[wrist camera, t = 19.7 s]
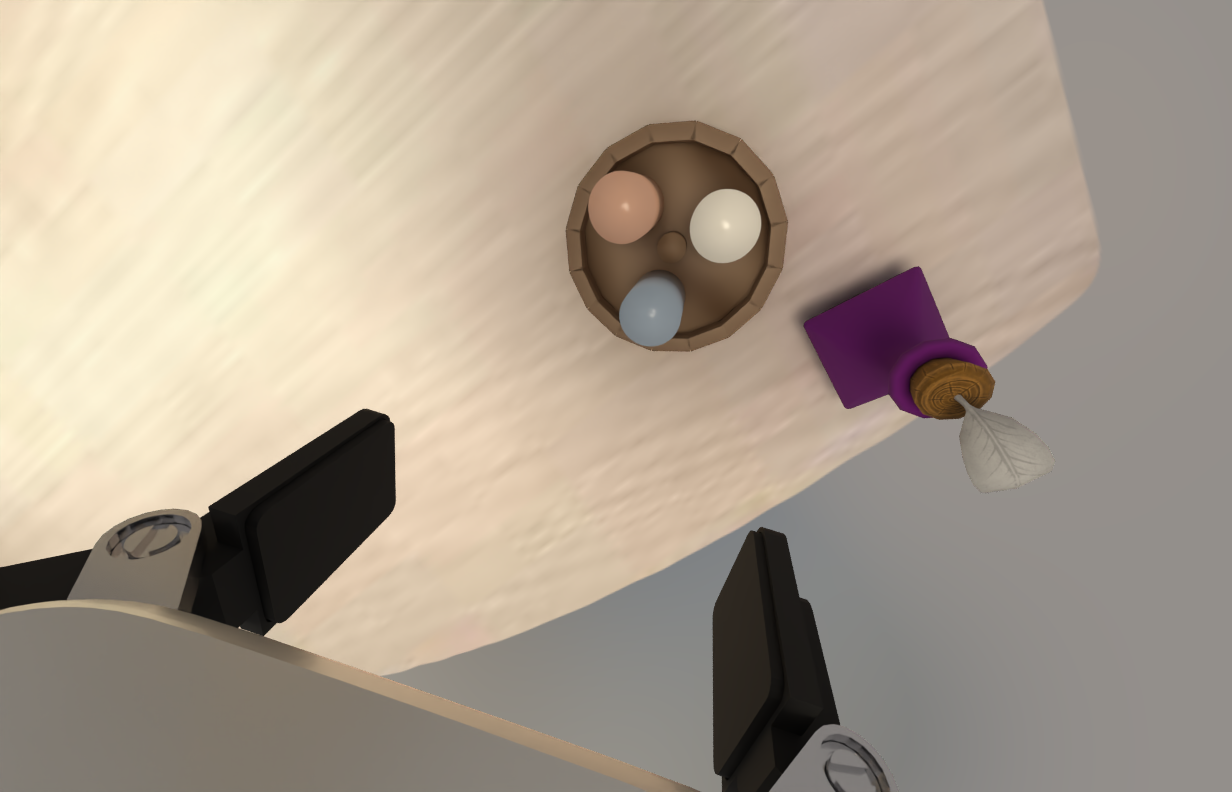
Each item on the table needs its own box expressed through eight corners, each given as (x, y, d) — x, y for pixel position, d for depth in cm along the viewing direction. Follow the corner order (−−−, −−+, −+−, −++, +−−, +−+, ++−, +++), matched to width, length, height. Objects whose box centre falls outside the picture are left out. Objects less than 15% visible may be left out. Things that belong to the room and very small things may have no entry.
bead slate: (639, 264, 33) (626, 278, 28) (691, 277, 33) (688, 294, 28) (628, 314, 35) (613, 337, 30) (677, 327, 35) (671, 353, 29)
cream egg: (724, 175, 30) (727, 172, 24) (764, 219, 30) (776, 225, 25) (681, 222, 32) (675, 228, 26) (720, 262, 32) (722, 277, 27)
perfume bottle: (794, 311, 33) (871, 425, 17) (899, 257, 31) (1108, 333, 15) (834, 391, 35) (937, 560, 19) (937, 347, 33) (1158, 502, 17)
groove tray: (675, 71, 29) (672, 61, 26) (827, 240, 31) (835, 244, 29) (538, 247, 35) (527, 251, 33) (672, 376, 37) (670, 388, 35)
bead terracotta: (676, 203, 31) (669, 206, 26) (637, 246, 33) (622, 258, 27) (635, 160, 30) (619, 154, 25) (597, 206, 32) (574, 210, 27)
